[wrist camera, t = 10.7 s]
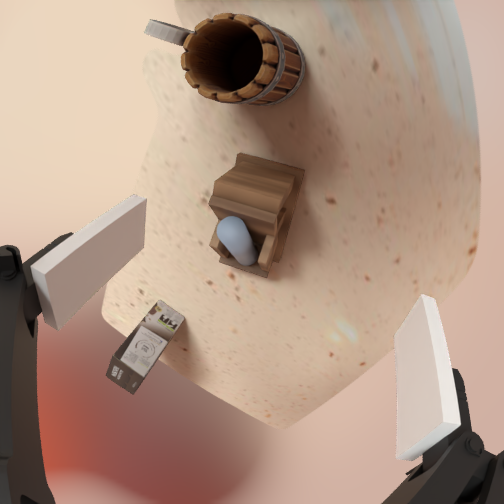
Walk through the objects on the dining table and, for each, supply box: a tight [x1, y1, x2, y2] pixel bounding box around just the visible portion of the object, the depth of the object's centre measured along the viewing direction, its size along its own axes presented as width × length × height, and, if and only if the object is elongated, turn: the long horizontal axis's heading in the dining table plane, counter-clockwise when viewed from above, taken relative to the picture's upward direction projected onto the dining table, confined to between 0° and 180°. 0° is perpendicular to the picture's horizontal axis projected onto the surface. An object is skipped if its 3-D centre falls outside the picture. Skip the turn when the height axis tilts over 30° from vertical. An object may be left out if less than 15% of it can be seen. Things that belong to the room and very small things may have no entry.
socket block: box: [209, 153, 305, 278], centre depth 41 cm, size 16×9×12 cm, turn 168°
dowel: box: [217, 216, 258, 266], centre depth 41 cm, size 3×3×12 cm
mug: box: [144, 13, 305, 106], centre depth 30 cm, size 16×11×15 cm
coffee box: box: [106, 300, 185, 394], centre depth 56 cm, size 9×6×16 cm
